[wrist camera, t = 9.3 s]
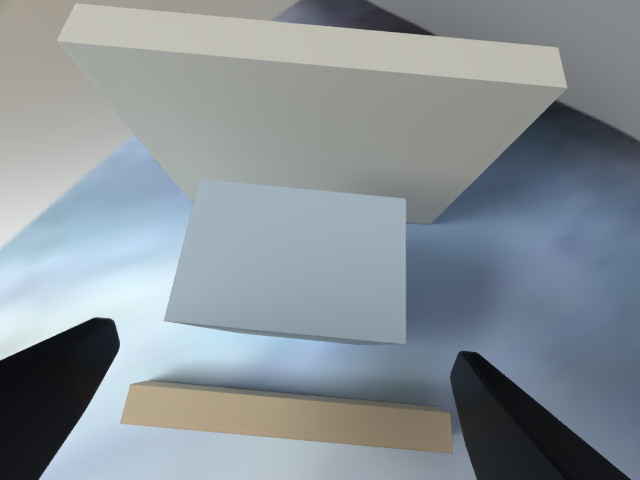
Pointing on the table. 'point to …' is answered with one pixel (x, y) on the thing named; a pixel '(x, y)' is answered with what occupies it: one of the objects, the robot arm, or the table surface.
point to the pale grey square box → (293, 264)
